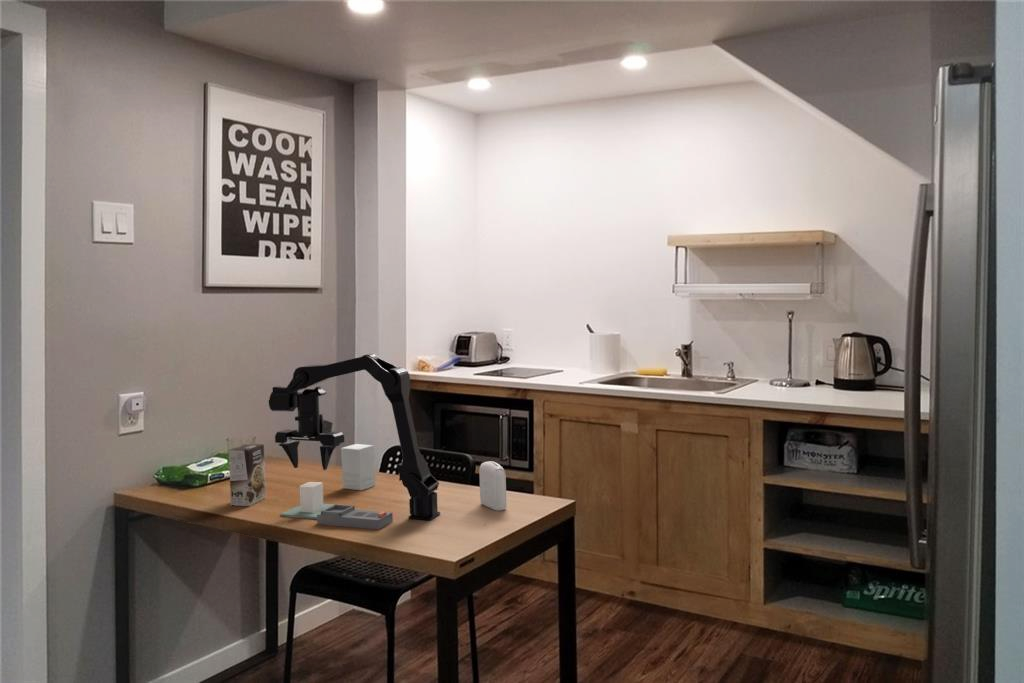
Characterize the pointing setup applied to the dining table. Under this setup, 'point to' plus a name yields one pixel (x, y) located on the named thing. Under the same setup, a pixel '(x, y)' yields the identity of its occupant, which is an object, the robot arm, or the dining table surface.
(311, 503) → the charger
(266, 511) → the dining table surface
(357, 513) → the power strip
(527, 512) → the dining table surface
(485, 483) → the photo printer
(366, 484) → the supplement box
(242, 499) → the coffee box
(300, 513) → the rubber mat
